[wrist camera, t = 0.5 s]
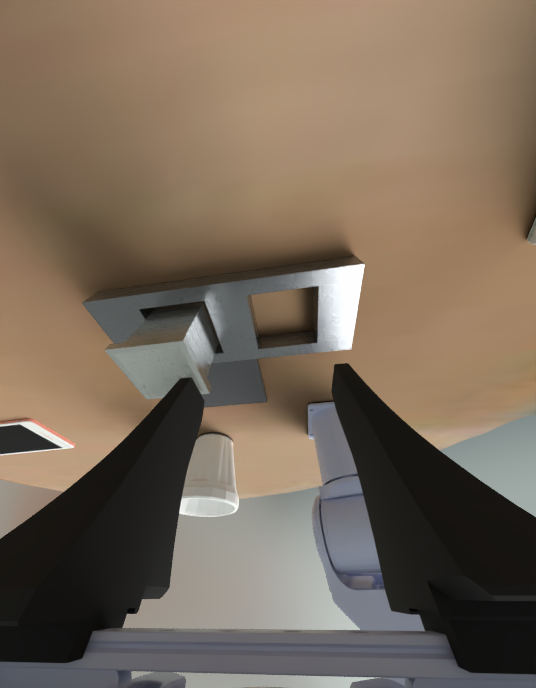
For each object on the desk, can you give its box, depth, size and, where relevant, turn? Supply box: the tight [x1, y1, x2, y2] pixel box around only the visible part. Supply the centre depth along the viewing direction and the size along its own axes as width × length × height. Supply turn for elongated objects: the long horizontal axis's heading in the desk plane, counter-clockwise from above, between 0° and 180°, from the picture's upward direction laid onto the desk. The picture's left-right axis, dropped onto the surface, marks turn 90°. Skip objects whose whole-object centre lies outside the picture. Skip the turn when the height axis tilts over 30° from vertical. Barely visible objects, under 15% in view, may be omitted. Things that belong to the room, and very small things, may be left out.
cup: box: [179, 433, 239, 517], centre depth 31 cm, size 10×10×9 cm
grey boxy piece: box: [105, 301, 219, 399], centre depth 17 cm, size 5×5×7 cm
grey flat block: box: [82, 256, 365, 363], centre depth 18 cm, size 8×22×2 cm, turn 98°
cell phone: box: [0, 419, 75, 455], centre depth 34 cm, size 9×18×1 cm, turn 101°
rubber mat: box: [201, 359, 267, 407], centre depth 25 cm, size 9×9×1 cm
